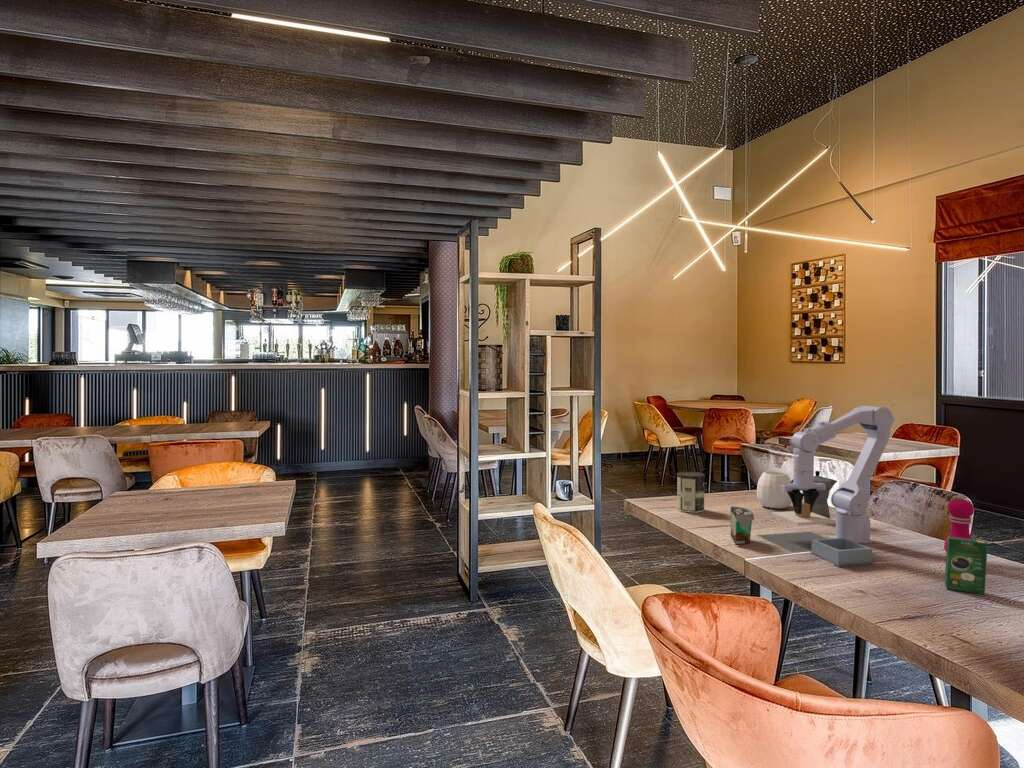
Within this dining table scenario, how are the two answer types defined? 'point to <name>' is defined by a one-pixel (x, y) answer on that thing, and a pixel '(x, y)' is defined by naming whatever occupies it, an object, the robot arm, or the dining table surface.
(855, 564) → the dish
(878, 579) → the dining table surface
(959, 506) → the pepper mill
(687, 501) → the coffee can
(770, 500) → the white vase
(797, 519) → the lid
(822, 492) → the coffeepot
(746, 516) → the food container
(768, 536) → the mat
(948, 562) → the coffee box
